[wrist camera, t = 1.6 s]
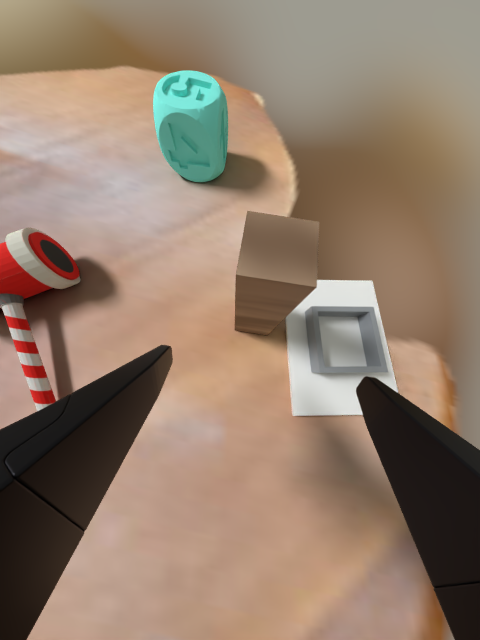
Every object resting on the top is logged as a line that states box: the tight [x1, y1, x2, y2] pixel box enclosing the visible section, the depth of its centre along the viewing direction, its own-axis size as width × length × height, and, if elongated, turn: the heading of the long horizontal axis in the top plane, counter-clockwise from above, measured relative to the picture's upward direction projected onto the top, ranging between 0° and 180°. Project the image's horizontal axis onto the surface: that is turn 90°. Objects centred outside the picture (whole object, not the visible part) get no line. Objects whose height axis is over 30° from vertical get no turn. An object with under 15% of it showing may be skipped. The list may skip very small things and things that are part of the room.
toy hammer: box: [0, 228, 80, 411], centre depth 17 cm, size 23×12×6 cm, turn 28°
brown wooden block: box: [235, 211, 319, 335], centre depth 15 cm, size 4×4×13 cm
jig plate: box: [285, 280, 398, 416], centre depth 20 cm, size 16×12×2 cm
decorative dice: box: [153, 71, 228, 182], centre depth 24 cm, size 8×8×8 cm
